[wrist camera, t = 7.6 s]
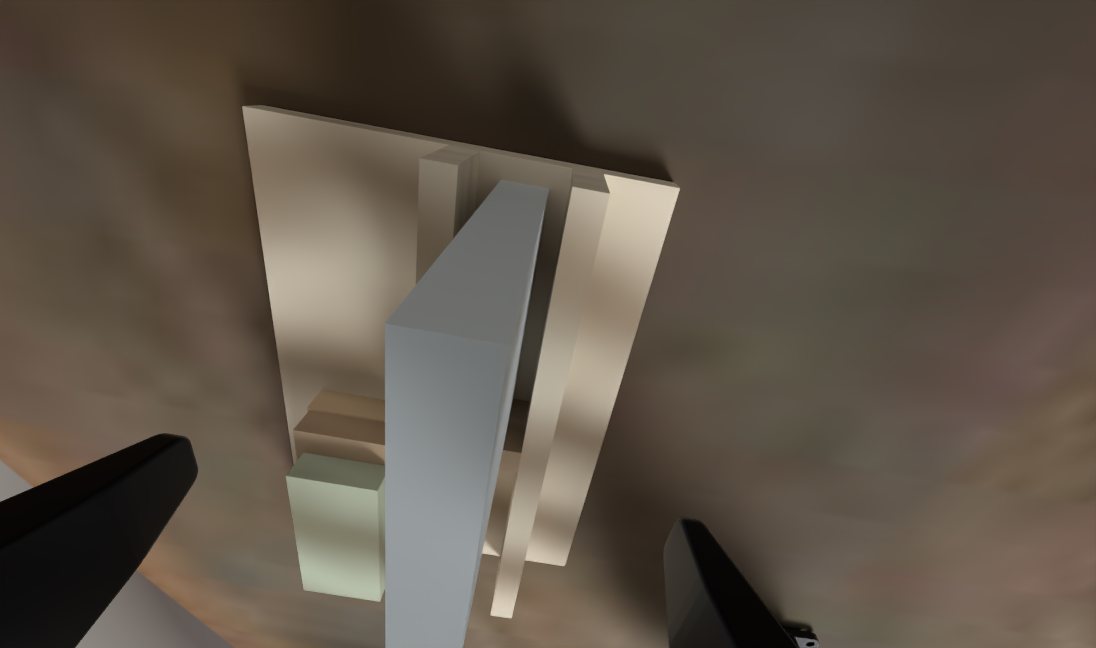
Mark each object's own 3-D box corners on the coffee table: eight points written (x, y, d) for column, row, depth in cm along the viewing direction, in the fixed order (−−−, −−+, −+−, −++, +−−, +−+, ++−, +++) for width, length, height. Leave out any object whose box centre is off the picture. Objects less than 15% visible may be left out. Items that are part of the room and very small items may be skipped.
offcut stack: (410, 538, 23) (384, 610, 20) (334, 526, 23) (296, 596, 20) (414, 405, 19) (382, 468, 16) (321, 389, 19) (270, 450, 16)
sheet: (515, 384, 18) (460, 661, 9) (477, 378, 18) (385, 650, 9) (549, 188, 14) (509, 345, 6) (501, 179, 14) (385, 324, 6)
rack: (565, 549, 25) (563, 626, 21) (312, 508, 24) (267, 580, 21) (673, 182, 15) (703, 211, 12) (262, 105, 15) (163, 110, 11)
